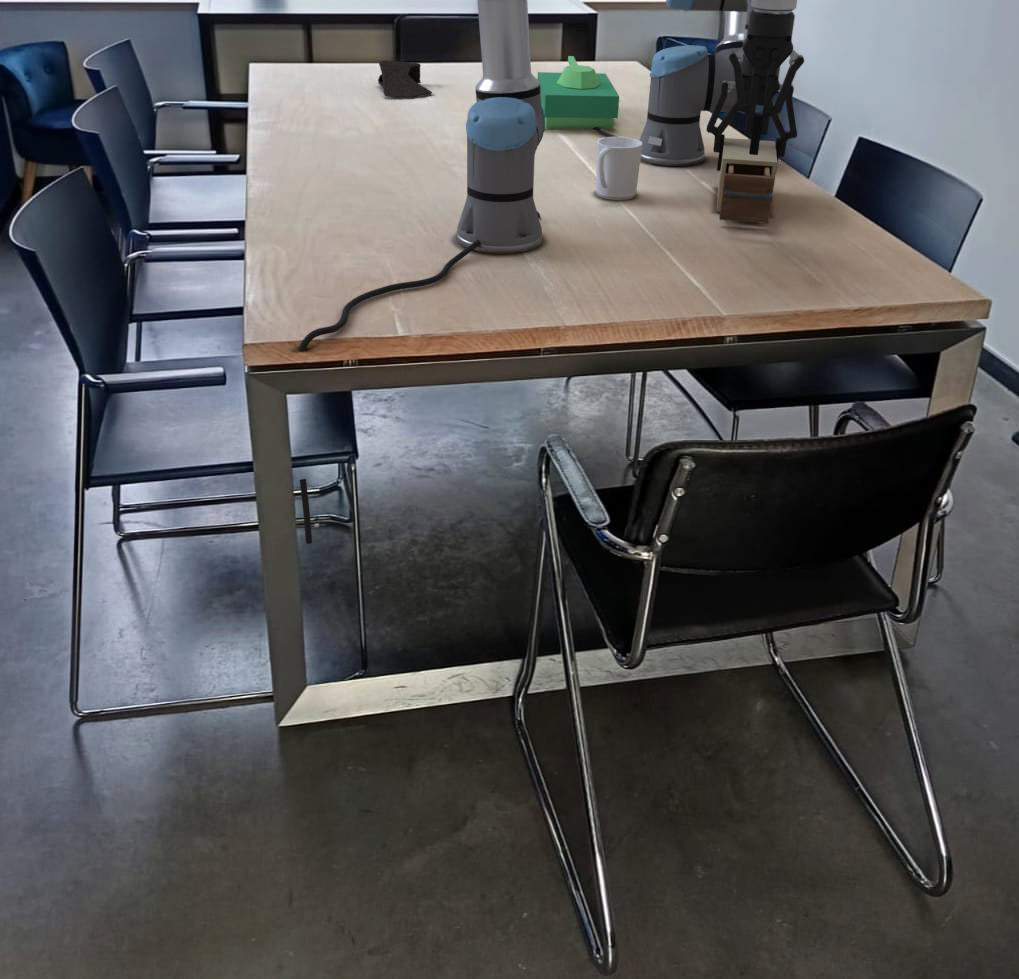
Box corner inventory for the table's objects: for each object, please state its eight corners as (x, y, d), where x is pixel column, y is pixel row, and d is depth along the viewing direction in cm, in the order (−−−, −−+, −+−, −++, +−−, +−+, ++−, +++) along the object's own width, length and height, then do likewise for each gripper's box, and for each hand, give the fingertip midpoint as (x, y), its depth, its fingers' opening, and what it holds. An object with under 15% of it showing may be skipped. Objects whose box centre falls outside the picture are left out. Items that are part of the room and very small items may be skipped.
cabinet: (769, 215, 211) (777, 162, 206) (716, 211, 212) (722, 158, 207) (767, 191, 225) (775, 141, 220) (718, 188, 227) (724, 137, 222)
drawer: (768, 231, 199) (775, 185, 195) (718, 227, 200) (724, 182, 196) (766, 199, 217) (772, 157, 213) (720, 196, 218) (725, 153, 214)
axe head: (443, 87, 294) (392, 77, 287) (436, 115, 299) (385, 106, 292) (421, 62, 307) (371, 52, 300) (414, 89, 311) (365, 80, 304)
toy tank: (603, 52, 288) (620, 79, 258) (599, 101, 294) (616, 133, 265) (536, 51, 287) (546, 78, 257) (534, 99, 294) (543, 131, 264)
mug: (610, 185, 226) (613, 134, 221) (646, 193, 222) (651, 142, 216) (579, 196, 219) (581, 144, 214) (615, 205, 214) (619, 152, 209)
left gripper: (811, 9, 186) (789, 150, 198) (733, 5, 187) (717, 145, 200) (813, 15, 179) (791, 160, 192) (733, 11, 181) (716, 155, 193)
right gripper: (821, 53, 209) (803, 169, 221) (702, 47, 213) (689, 162, 224) (824, 60, 203) (805, 179, 215) (700, 53, 206) (688, 171, 218)
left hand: (753, 152), depth 196 cm, fingers closed
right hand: (746, 170), depth 220 cm, fingers closed on cabinet, 10 cm apart
